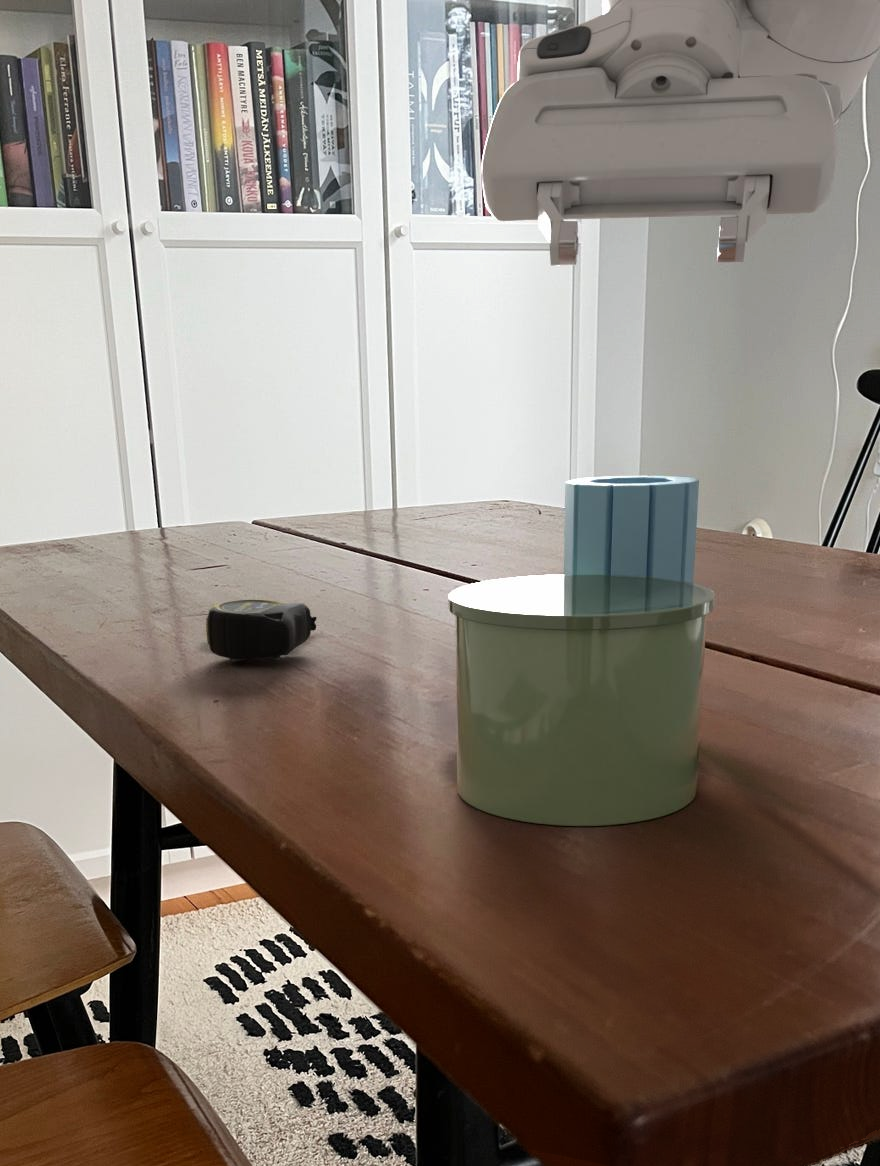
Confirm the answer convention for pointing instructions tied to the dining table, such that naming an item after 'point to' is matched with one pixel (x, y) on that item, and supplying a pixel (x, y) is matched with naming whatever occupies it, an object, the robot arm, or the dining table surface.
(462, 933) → the dining table surface
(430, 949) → the dining table surface
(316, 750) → the dining table surface
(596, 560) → the blue grooved hollow cylinder
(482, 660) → the pot
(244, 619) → the tape measure
